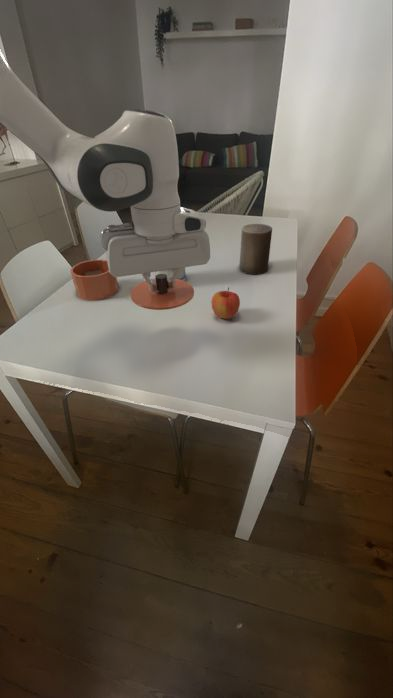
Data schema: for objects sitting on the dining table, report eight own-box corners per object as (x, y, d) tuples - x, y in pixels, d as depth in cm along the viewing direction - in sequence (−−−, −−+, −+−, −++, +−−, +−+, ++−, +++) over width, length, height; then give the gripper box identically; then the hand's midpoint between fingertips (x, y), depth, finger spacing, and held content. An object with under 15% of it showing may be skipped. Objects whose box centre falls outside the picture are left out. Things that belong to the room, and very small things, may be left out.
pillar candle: (271, 273, 105) (277, 227, 96) (243, 276, 104) (246, 229, 95) (262, 262, 113) (267, 218, 104) (235, 264, 112) (238, 220, 103)
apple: (207, 320, 84) (207, 293, 79) (217, 307, 89) (217, 281, 84) (233, 326, 81) (235, 299, 76) (242, 312, 86) (244, 286, 81)
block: (89, 294, 95) (85, 278, 92) (88, 287, 99) (84, 272, 96) (106, 291, 97) (103, 276, 94) (104, 284, 100) (101, 269, 97)
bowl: (77, 303, 92) (71, 279, 87) (76, 285, 101) (70, 263, 97) (120, 296, 95) (116, 272, 90) (115, 279, 104) (111, 257, 100)
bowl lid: (137, 317, 61) (134, 296, 58) (126, 287, 71) (123, 268, 68) (203, 305, 64) (203, 285, 61) (183, 278, 74) (182, 259, 71)
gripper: (100, 231, 53) (114, 304, 61) (214, 219, 58) (212, 287, 67) (96, 221, 58) (110, 290, 66) (202, 210, 63) (202, 275, 71)
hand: (162, 288), depth 66 cm, fingers closed on bowl lid, 2 cm apart
